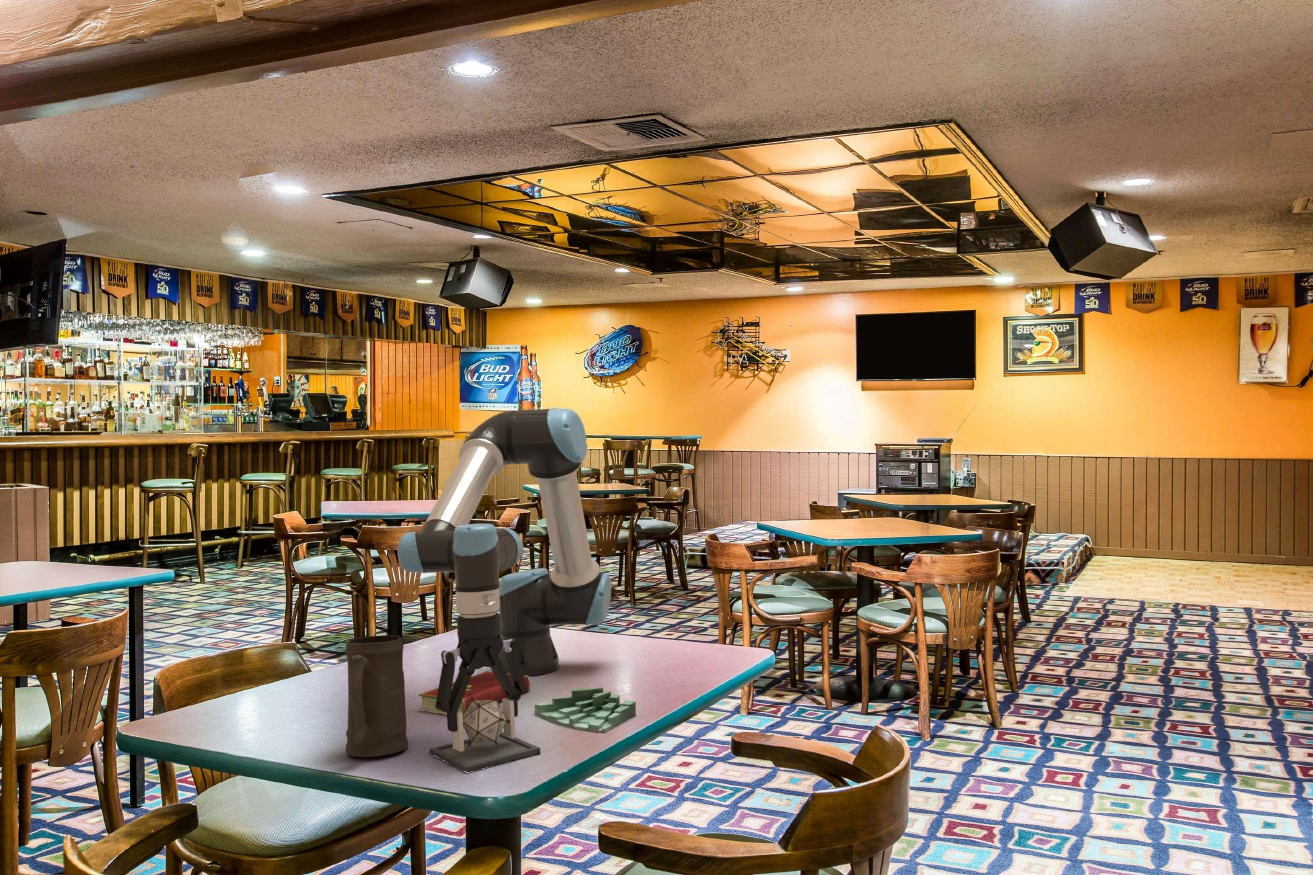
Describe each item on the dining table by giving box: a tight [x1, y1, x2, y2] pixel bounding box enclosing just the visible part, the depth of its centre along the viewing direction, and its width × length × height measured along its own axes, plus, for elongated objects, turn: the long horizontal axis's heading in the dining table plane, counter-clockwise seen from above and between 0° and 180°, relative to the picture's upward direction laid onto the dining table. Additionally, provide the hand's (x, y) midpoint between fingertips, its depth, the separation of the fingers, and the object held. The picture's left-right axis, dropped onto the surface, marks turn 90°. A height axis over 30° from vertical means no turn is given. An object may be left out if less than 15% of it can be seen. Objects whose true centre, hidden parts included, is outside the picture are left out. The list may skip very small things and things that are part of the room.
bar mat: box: [429, 731, 541, 773], centre depth 173 cm, size 14×14×1 cm
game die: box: [463, 696, 510, 747], centre depth 173 cm, size 9×8×10 cm
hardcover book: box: [418, 670, 531, 715], centre depth 208 cm, size 12×21×4 cm, turn 149°
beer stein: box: [344, 634, 409, 758], centre depth 175 cm, size 15×11×20 cm
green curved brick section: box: [533, 686, 637, 734], centre depth 194 cm, size 20×16×5 cm
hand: (484, 742), depth 173 cm, fingers closed on game die, 9 cm apart
